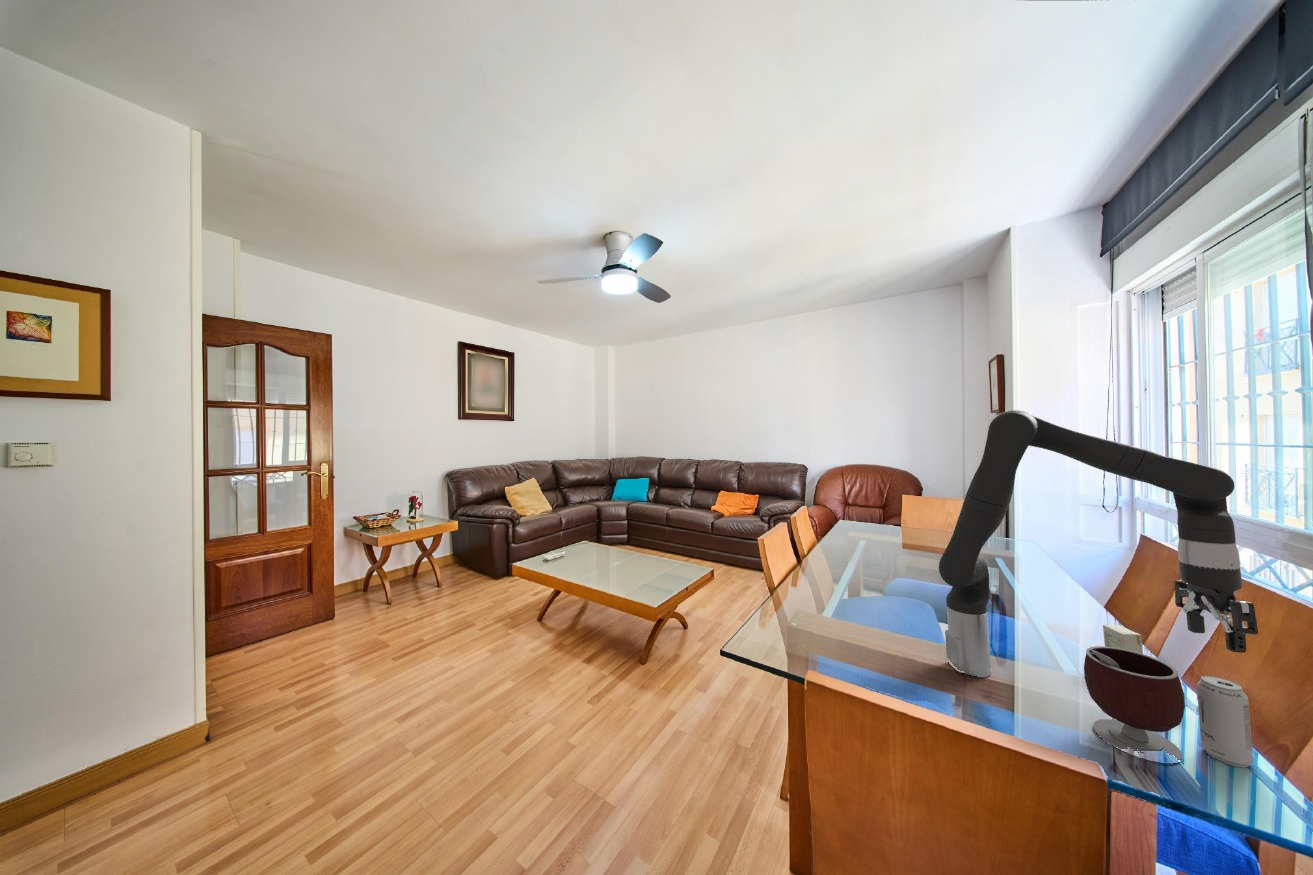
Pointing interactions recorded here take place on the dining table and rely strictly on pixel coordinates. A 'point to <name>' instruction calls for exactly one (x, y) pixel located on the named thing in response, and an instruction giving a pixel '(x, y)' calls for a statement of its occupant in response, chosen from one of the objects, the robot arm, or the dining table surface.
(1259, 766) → the dining table surface
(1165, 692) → the mate gourd
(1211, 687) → the energy drink can
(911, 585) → the dining table surface
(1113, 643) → the skincare box
